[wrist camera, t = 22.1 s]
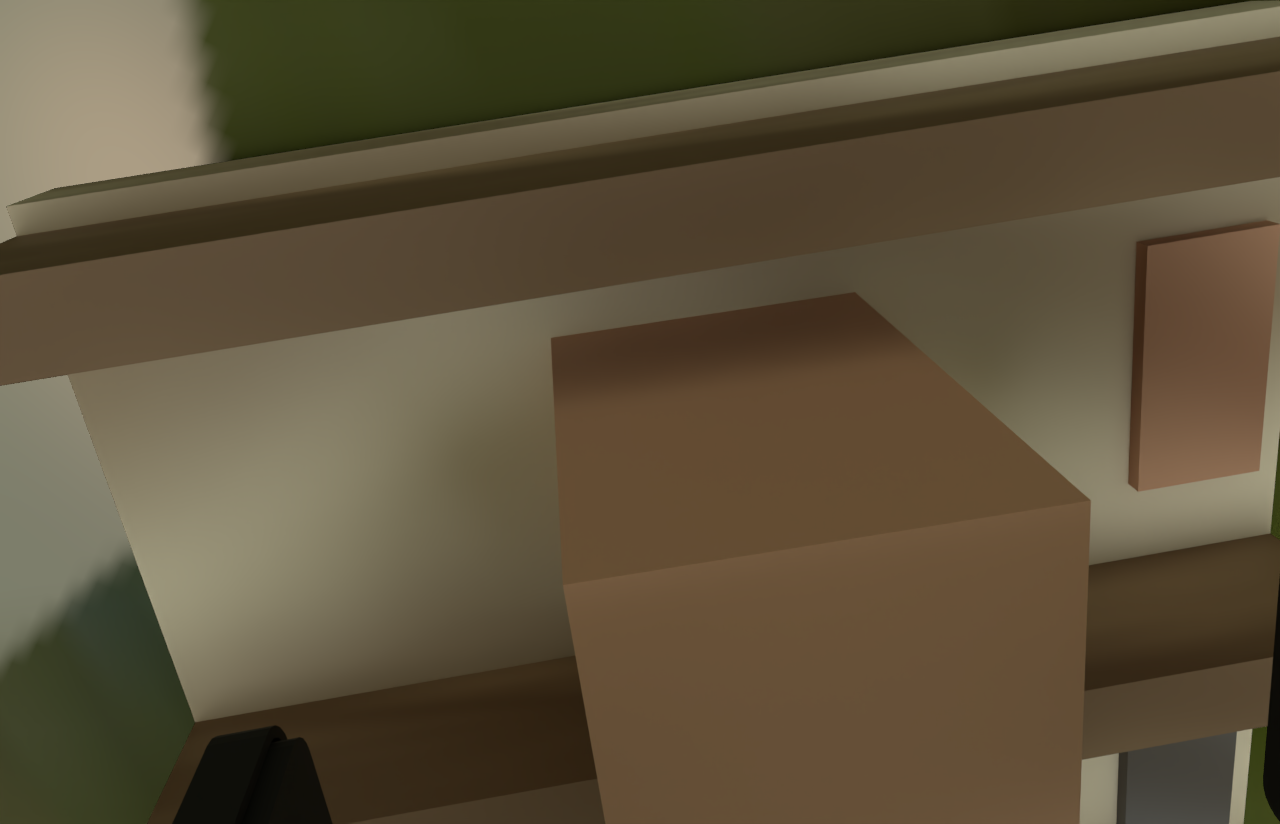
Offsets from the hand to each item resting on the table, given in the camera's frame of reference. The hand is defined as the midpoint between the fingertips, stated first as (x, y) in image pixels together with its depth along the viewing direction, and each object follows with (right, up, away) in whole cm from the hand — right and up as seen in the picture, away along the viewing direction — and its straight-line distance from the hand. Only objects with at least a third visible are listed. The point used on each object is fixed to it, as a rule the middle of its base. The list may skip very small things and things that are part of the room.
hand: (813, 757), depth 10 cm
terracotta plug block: (0, +3, +6) cm, 7 cm away
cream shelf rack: (0, 0, +9) cm, 9 cm away
